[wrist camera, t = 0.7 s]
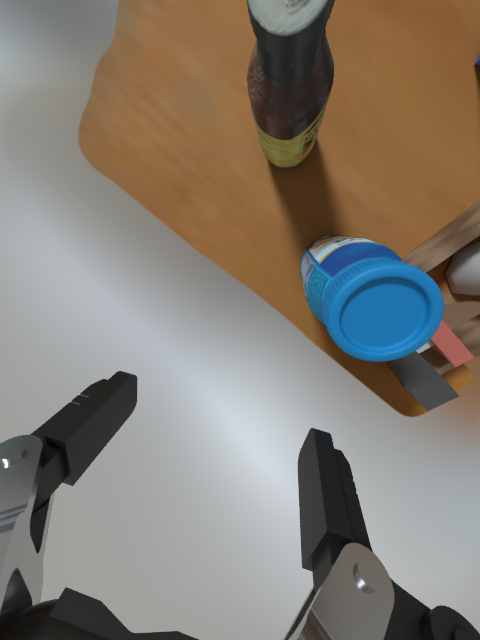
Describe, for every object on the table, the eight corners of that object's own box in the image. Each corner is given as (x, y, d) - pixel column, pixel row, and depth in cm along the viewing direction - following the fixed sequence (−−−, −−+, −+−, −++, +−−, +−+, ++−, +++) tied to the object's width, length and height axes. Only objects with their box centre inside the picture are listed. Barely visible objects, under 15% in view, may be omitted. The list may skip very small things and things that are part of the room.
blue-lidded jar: (286, 272, 34) (286, 328, 16) (327, 219, 31) (387, 215, 12) (331, 305, 35) (381, 395, 17) (376, 257, 31) (502, 306, 13)
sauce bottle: (309, 171, 29) (348, 86, 11) (259, 169, 30) (219, 88, 12) (320, 104, 26) (394, -156, 8) (265, 104, 27) (223, -130, 9)
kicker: (387, 274, 31) (452, 307, 19) (446, 342, 33) (539, 411, 21) (342, 307, 34) (374, 355, 22) (399, 368, 36) (458, 443, 24)
